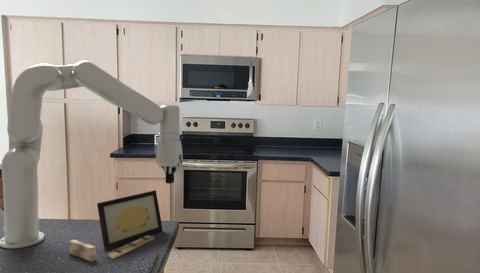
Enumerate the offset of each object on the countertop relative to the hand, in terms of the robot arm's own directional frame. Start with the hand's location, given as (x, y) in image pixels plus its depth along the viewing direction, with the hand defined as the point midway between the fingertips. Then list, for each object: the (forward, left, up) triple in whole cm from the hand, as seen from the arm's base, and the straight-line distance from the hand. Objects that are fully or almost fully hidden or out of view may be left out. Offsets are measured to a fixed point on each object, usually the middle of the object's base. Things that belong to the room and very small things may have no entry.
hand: (169, 182), depth 133 cm
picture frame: (-3, -18, -17) cm, 25 cm away
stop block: (-3, -37, -16) cm, 41 cm away
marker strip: (+5, -24, -16) cm, 30 cm away
